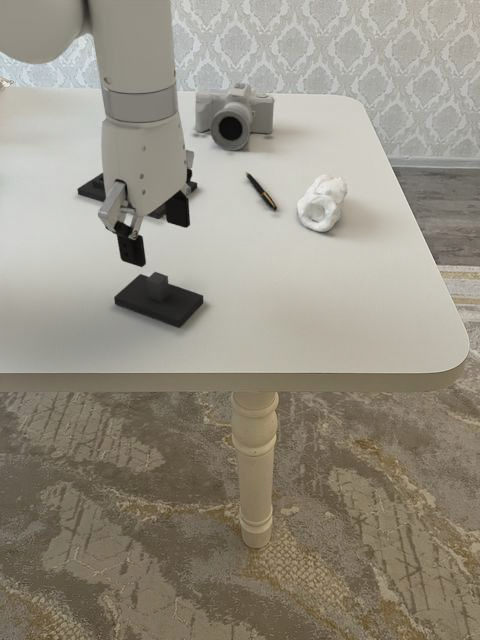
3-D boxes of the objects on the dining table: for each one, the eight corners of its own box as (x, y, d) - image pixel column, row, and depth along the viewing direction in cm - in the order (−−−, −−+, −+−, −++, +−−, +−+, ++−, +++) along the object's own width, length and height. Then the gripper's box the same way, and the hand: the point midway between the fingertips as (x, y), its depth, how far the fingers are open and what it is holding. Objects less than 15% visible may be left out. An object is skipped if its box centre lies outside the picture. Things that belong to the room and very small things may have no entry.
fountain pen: (242, 175, 107) (242, 167, 106) (248, 174, 107) (248, 166, 106) (272, 214, 97) (273, 205, 96) (279, 212, 97) (280, 204, 96)
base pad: (78, 194, 99) (75, 181, 97) (121, 166, 107) (119, 154, 105) (158, 219, 94) (157, 206, 93) (197, 188, 102) (197, 176, 101)
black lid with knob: (114, 304, 78) (110, 278, 75) (141, 280, 82) (138, 255, 79) (179, 328, 75) (177, 302, 72) (203, 302, 79) (202, 276, 76)
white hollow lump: (317, 194, 103) (351, 161, 97) (336, 250, 98) (373, 220, 92) (280, 181, 97) (313, 146, 92) (298, 240, 93) (334, 208, 87)
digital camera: (183, 160, 118) (168, 110, 111) (209, 131, 127) (197, 83, 121) (260, 157, 112) (250, 104, 105) (282, 126, 121) (274, 76, 115)
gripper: (157, 69, 67) (169, 204, 79) (54, 121, 56) (87, 270, 67) (214, 80, 65) (218, 218, 77) (120, 137, 53) (141, 289, 65)
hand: (157, 242), depth 72 cm, fingers open, 9 cm apart
